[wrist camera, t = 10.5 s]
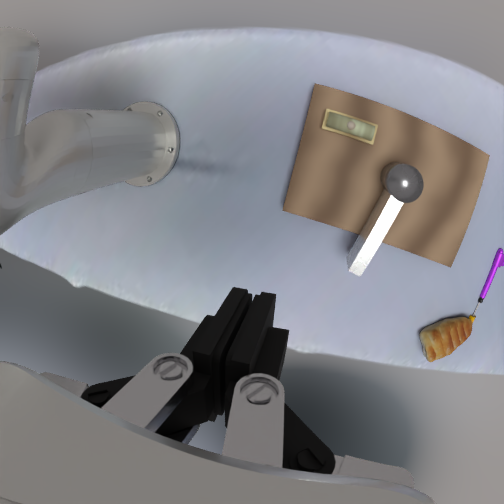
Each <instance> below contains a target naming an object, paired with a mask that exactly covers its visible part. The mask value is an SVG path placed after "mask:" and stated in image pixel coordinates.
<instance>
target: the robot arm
mask: <svg viewBox="0 0 504 504" xmlns="http://www.w3.org/2000/svg"><path fill="white" fill-rule="evenodd" d="M38 59H39V43H38V40H37V39H36V37H35V36H34V35H33V34H32V33H31V32H29V31H26V30H24V29H20V28H11V27H0V235H1V234H3V233H4V232H5V231H7V230H8V229H9V228H11V227H12V226H13V225H15V224H16V223H17V222H19V221H20V220H22V219H23V218H25V217H26V216H28V215H29V214H31V213H33V212H35V211H37V210H39V209H41V208H43V207H45V206H47V205H50V204H53V203H55V202H58V201H61V200H63V199H66V198H69V197H72V196H76V195H79V194H82V193H85V192H88V191H91V190H95V189H98V188H101V187H105V186H108V185H111V184H115V183H118V182H122V181H125V182H126V183H128V184H131V185H133V186H140V187H141V186H148V185H152V184H154V183H156V182H159V181H160V180H161V179H163V178H164V177H165V176H166V175H167V174H168V173H169V172H170V171H171V169H172V167H173V166H174V164H175V162H176V159H177V157H178V152H179V145H180V137H179V130H178V127H177V124H176V122H175V120H174V118H173V116H172V115H171V114H170V112H169V111H168V110H167V109H165V108H164V107H163V106H161V105H159V104H157V103H152V102H137V103H134V104H132V105H129V106H128V107H126V108H125V109H124V110H99V109H60V110H53V111H50V112H47V113H44V114H42V115H40V116H38V117H36V118H35V119H33V120H32V121H31V122H29V123H28V124H27V125H26V119H27V112H28V107H29V101H30V96H31V91H32V87H33V82H34V77H35V73H36V69H37V64H38ZM162 113H163V114H162ZM173 148H174V151H173ZM275 301H276V294H272V293H266V292H261V294H260V295H255V297H254V299H253V301H252V294H249V293H248V290H247V289H241V288H236V287H233V288H232V290H231V291H230V293H229V294H228V296H227V297H226V299H225V300H224V302H223V304H222V305H221V307H220V308H219V310H218V311H217V313H216V315H215V316H211V315H207V316H206V317H205V318H204V319H203V321H202V322H201V324H200V325H199V327H198V328H197V330H196V331H195V333H194V334H193V335H192V337H191V338H190V340H189V341H188V343H187V344H186V346H185V347H184V349H183V350H182V352H181V353H180V354H177V353H166V354H162V355H159V356H157V357H155V358H154V359H153V360H151V361H150V362H149V363H148V364H147V365H146V366H145V367H144V368H143V369H142V370H141V371H140V372H139V373H138V374H137V375H135V376H131V377H127V378H122V379H117V380H113V381H108V382H104V383H99V384H95V385H92V386H90V387H89V386H88V384H87V383H83V382H79V381H75V380H72V379H69V378H65V377H62V376H58V375H55V374H51V373H46V372H45V373H41V374H38V373H37V372H35V371H33V370H31V369H28V368H26V367H23V366H21V365H18V364H15V363H9V362H5V361H0V504H436V503H435V501H434V500H433V499H432V498H431V497H429V496H428V495H426V494H424V493H422V492H420V491H418V490H416V489H414V479H413V477H412V474H411V473H410V472H409V471H407V470H406V469H403V468H401V467H396V466H391V465H386V464H381V463H376V462H372V461H367V460H363V459H358V458H354V457H351V456H347V455H346V456H345V457H340V456H336V455H334V454H333V453H332V451H331V450H330V449H329V448H328V447H327V446H326V445H325V444H324V443H323V442H322V441H321V440H320V439H319V438H318V437H317V436H316V435H315V434H314V433H313V432H312V431H311V430H310V429H309V428H308V427H307V426H306V425H305V424H304V423H303V422H302V421H301V420H300V418H299V417H298V416H297V415H296V414H295V413H294V412H293V411H292V410H291V409H290V408H289V407H288V406H287V405H286V404H285V403H284V388H283V386H282V384H281V383H280V381H279V379H280V375H281V371H282V367H283V363H284V358H285V352H286V347H287V341H288V335H289V330H286V329H280V328H274V327H273V320H274V311H275ZM224 411H225V426H226V428H227V431H226V436H225V441H224V446H223V452H222V455H220V454H216V453H213V452H209V451H206V450H203V449H199V448H196V447H193V446H190V445H188V444H189V442H190V441H191V440H192V438H193V437H194V435H195V434H196V433H197V431H198V429H199V427H200V424H201V423H204V422H207V421H208V420H209V421H213V422H214V421H215V419H216V417H217V415H223V413H224Z"/></svg>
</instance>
